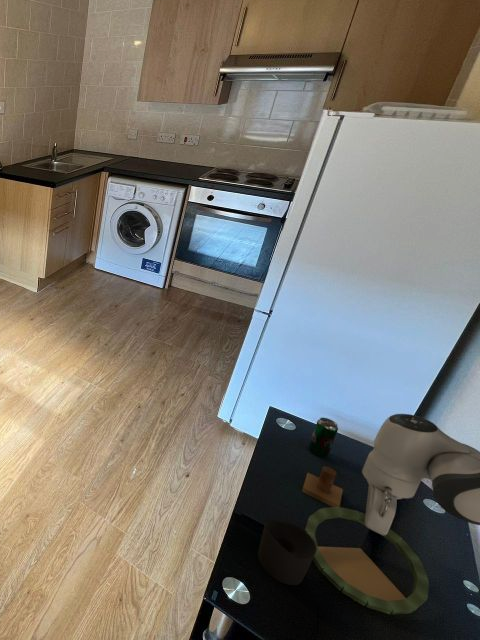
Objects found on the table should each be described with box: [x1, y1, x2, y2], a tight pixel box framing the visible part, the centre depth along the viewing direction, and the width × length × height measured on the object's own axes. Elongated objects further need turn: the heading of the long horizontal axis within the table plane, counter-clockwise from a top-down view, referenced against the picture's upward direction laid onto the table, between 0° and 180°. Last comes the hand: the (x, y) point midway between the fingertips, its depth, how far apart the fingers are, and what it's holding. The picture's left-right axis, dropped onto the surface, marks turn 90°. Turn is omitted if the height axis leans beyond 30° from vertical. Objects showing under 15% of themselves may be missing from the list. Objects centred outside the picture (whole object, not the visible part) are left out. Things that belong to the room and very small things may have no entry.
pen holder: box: [257, 517, 316, 586], centre depth 94 cm, size 9×9×10 cm
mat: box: [318, 546, 407, 602], centre depth 95 cm, size 12×12×1 cm
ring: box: [304, 506, 430, 615], centre depth 94 cm, size 21×21×2 cm
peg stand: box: [301, 465, 344, 508], centre depth 115 cm, size 8×8×8 cm
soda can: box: [308, 417, 339, 458], centre depth 129 cm, size 5×5×12 cm
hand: (370, 521), depth 99 cm, fingers closed on ring, 2 cm apart
